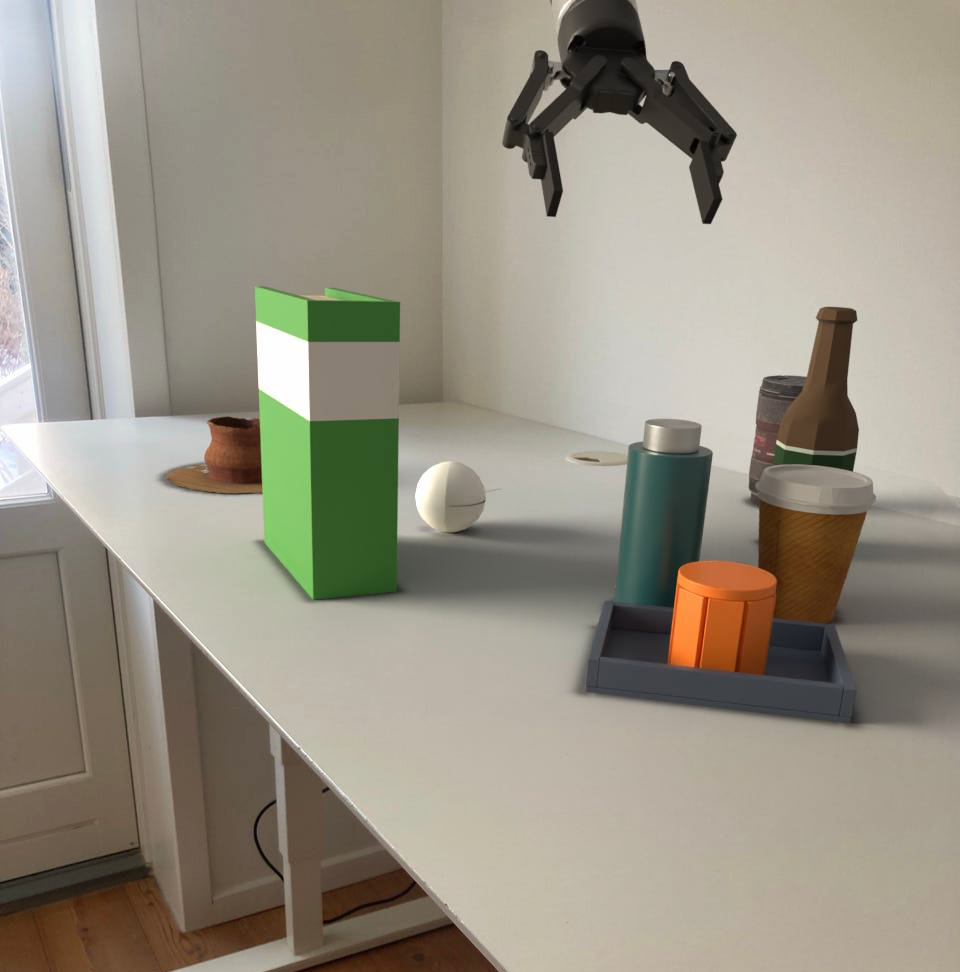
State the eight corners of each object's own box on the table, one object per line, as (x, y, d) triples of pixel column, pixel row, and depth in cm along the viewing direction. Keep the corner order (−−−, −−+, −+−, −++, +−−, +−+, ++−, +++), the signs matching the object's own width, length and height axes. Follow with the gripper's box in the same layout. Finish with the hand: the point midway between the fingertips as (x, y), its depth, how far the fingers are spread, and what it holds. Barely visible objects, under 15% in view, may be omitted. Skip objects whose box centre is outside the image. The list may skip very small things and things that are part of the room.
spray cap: (760, 654, 77) (774, 565, 75) (765, 690, 71) (780, 594, 68) (669, 644, 78) (679, 556, 76) (666, 678, 72) (677, 584, 70)
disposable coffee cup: (819, 594, 93) (842, 463, 89) (874, 632, 84) (902, 489, 80) (720, 596, 91) (738, 462, 87) (766, 635, 83) (789, 489, 78)
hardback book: (264, 543, 101) (254, 286, 92) (337, 538, 104) (334, 287, 95) (313, 601, 86) (307, 300, 77) (396, 592, 89) (400, 302, 80)
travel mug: (730, 503, 124) (747, 377, 119) (767, 494, 130) (785, 373, 124) (789, 517, 119) (809, 386, 113) (825, 508, 124) (846, 381, 119)
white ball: (430, 543, 103) (432, 471, 100) (404, 525, 109) (405, 456, 107) (519, 536, 107) (523, 466, 104) (489, 518, 113) (492, 452, 111)
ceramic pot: (281, 458, 138) (279, 405, 135) (339, 486, 124) (338, 428, 122) (146, 469, 129) (142, 413, 126) (193, 501, 115) (189, 438, 112)
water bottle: (692, 605, 89) (715, 419, 83) (691, 632, 83) (716, 433, 77) (616, 597, 90) (633, 413, 84) (610, 623, 84) (628, 427, 78)
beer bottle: (794, 563, 102) (835, 310, 93) (745, 542, 108) (779, 304, 100) (854, 556, 105) (899, 311, 96) (803, 536, 112) (841, 305, 103)
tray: (829, 655, 79) (834, 624, 78) (850, 725, 68) (856, 690, 67) (601, 630, 82) (604, 600, 81) (584, 693, 71) (587, 659, 70)
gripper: (712, 77, 98) (757, 247, 90) (456, 58, 94) (479, 235, 86) (743, 2, 92) (794, 179, 83) (468, -23, 87) (494, 162, 79)
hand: (634, 208), depth 85 cm, fingers open, 13 cm apart
